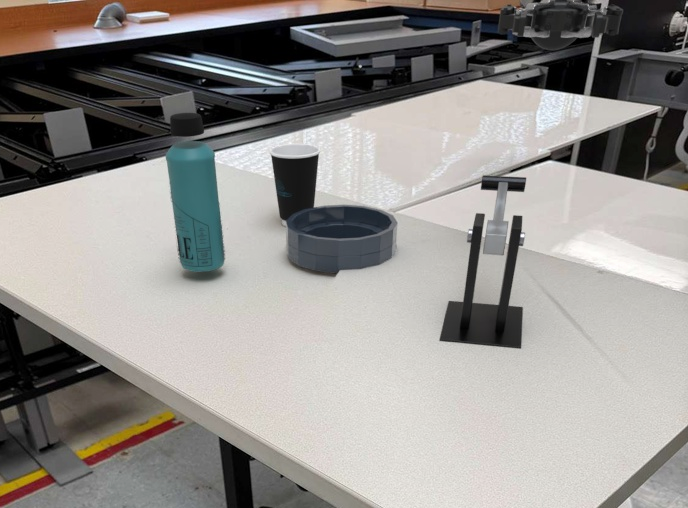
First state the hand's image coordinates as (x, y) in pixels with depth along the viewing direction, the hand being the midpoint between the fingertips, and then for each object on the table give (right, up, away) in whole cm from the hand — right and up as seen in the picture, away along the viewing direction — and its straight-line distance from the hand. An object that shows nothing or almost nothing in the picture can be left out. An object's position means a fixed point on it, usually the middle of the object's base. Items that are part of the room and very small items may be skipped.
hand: (559, 26), depth 83 cm
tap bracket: (-9, -35, +2) cm, 36 cm away
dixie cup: (-31, -10, +33) cm, 47 cm away
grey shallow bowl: (-24, -19, +21) cm, 38 cm away
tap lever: (-8, -23, -2) cm, 25 cm away
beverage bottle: (-44, -23, +17) cm, 53 cm away
